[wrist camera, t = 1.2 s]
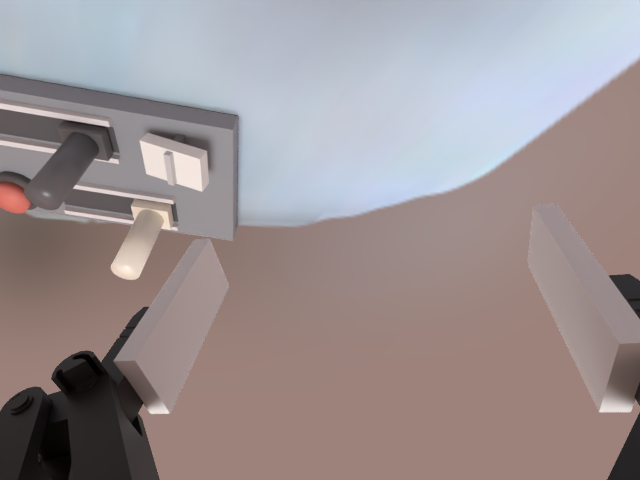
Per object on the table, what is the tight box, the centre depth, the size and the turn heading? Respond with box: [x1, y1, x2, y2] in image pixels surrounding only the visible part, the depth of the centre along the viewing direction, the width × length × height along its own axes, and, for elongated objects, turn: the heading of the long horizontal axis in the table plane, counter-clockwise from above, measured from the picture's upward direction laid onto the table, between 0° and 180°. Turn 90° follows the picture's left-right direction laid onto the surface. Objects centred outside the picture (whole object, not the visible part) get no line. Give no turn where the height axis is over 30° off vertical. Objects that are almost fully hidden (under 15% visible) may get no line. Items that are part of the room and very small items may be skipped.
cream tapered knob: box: [111, 199, 174, 280], centre depth 44 cm, size 4×3×9 cm
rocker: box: [139, 133, 209, 192], centre depth 39 cm, size 6×4×2 cm, turn 81°
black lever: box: [24, 121, 113, 210], centre depth 37 cm, size 4×3×9 cm
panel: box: [0, 74, 238, 241], centre depth 43 cm, size 28×16×5 cm, turn 81°
